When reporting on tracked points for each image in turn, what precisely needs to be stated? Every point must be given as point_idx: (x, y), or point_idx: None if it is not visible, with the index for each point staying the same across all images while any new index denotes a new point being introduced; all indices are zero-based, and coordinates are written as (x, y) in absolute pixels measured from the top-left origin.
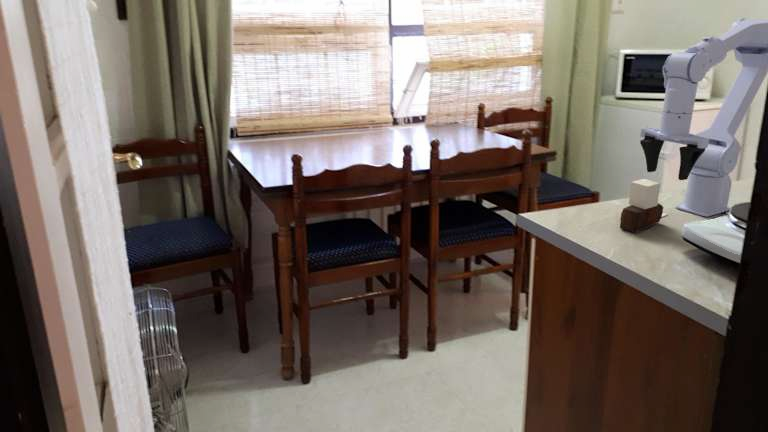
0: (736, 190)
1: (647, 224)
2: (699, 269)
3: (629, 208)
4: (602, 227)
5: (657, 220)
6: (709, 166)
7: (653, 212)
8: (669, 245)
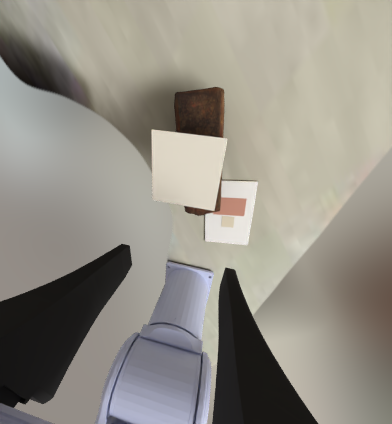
0: None
1: None
2: (19, 20)
3: (208, 107)
4: (258, 76)
5: None
6: (149, 348)
7: None
8: (119, 100)
